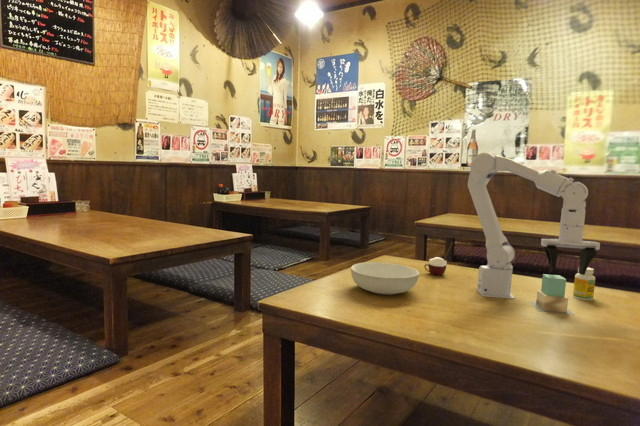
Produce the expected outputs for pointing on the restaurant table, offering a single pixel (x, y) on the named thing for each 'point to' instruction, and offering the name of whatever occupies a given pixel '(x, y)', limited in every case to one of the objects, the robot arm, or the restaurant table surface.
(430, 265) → the cocoa
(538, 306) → the build pad
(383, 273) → the serving bowl
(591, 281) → the supplement bottle
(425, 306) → the restaurant table surface
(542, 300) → the birch block
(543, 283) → the teal cube
